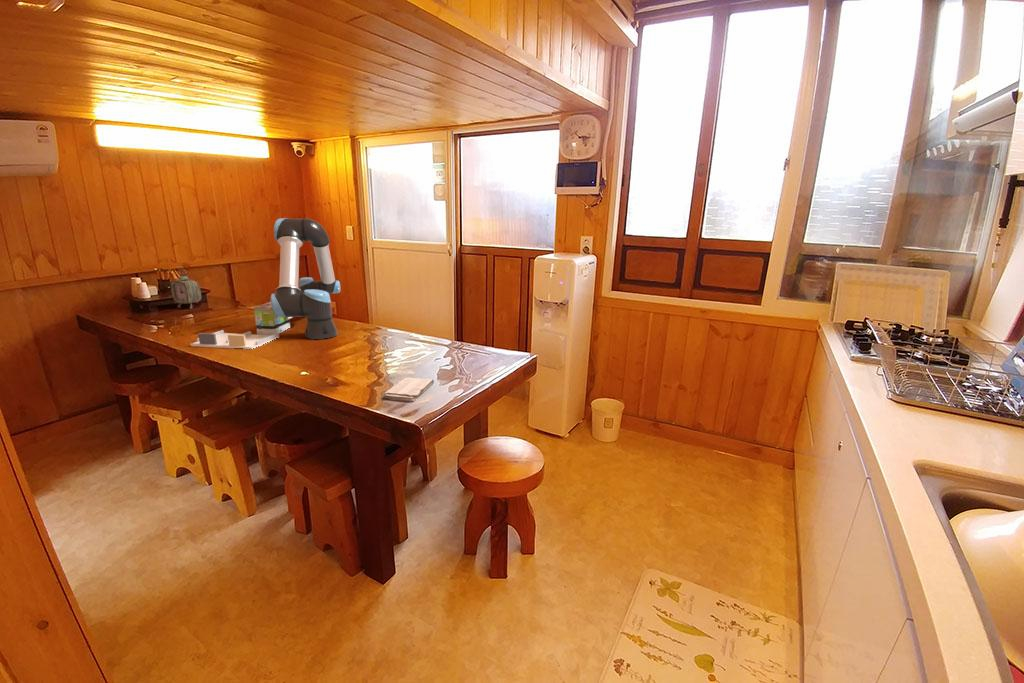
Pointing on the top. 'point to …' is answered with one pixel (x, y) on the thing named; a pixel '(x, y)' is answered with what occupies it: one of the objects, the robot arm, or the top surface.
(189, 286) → the tabletop clock
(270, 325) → the tea box
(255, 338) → the tag dock
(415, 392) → the washcloth
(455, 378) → the top surface
